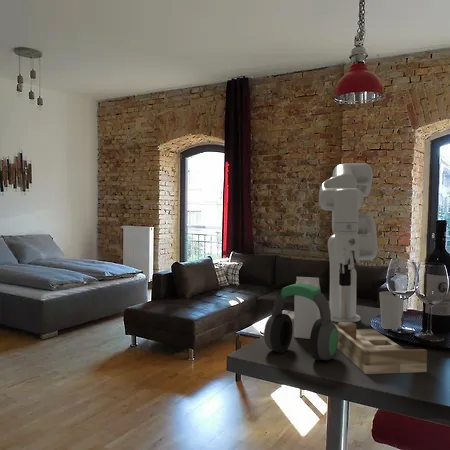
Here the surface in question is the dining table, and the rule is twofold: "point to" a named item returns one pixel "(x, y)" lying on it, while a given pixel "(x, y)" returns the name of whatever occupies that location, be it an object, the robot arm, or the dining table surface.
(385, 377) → the dining table surface
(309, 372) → the dining table surface
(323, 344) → the headphones
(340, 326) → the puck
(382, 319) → the cup
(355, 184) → the robot arm
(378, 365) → the wooden compartment tray
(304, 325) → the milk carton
